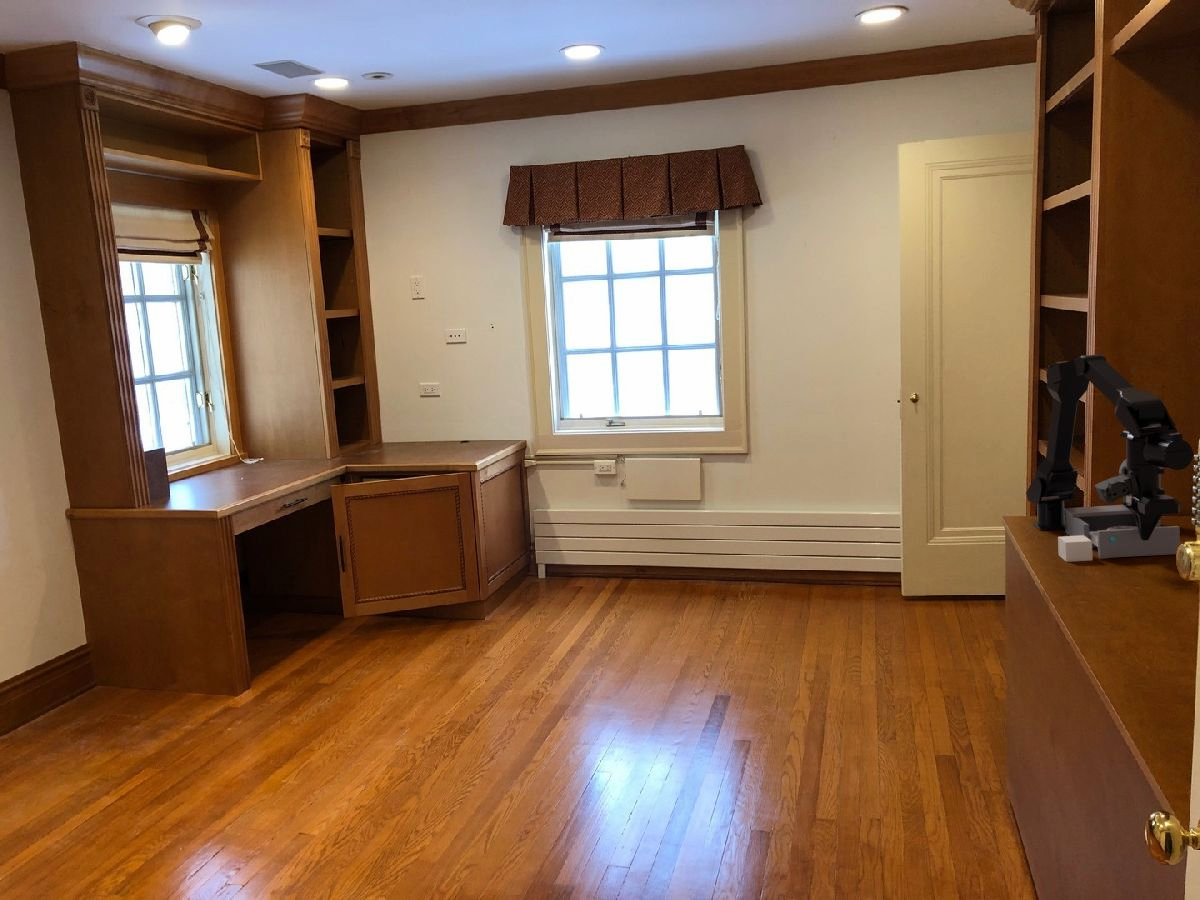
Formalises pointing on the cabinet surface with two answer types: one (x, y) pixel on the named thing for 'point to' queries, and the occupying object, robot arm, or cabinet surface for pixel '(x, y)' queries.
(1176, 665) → the cabinet surface
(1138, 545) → the tray
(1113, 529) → the disc
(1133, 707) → the cabinet surface
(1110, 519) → the housing
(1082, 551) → the block
